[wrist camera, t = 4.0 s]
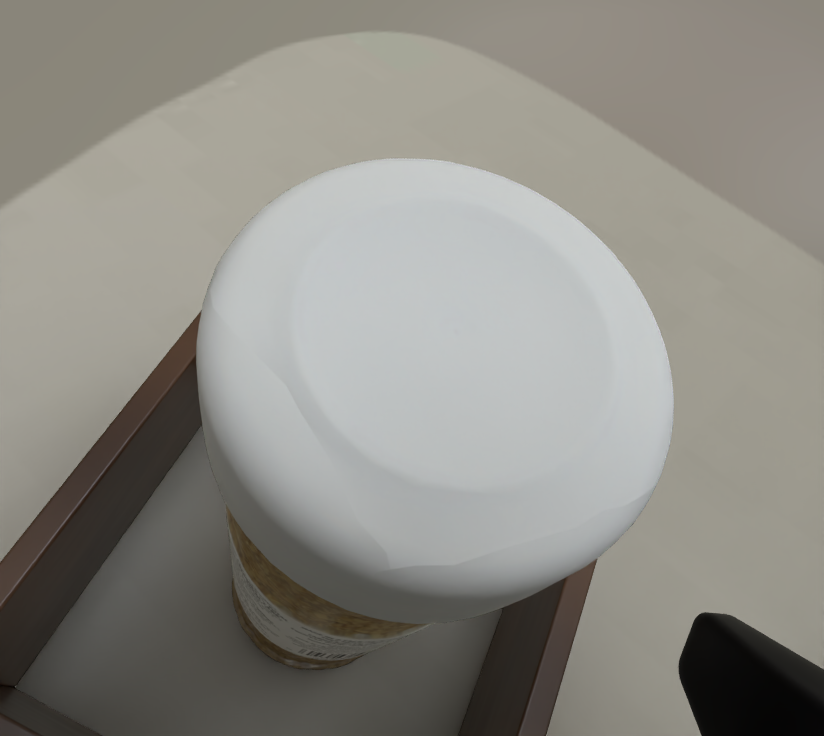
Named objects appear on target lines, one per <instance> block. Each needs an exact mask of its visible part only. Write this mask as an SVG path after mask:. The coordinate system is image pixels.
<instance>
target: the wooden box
mask: <svg viewBox="0 0 824 736" xmlns="http://www.w3.org/2000/svg"><path fill="white" fill-rule="evenodd" d="M201 311H202V310H201ZM200 317H201V312H200V313H199V314H198V315H197V317H196V318H195V319H194V320H193V322H192V323H191V324H190V325H189V327H188V328H187V329H186V330H185V332H184V333H183V334H182V335H181V337H180V338H179V339H178V340H177V342H176V343H175V344H174V345H173V347H172V348H171V349H170V350H169V352H168V353H167V354H166V356H165V357H164V358H163V359H162V361H161V362H160V363H159V364H158V366H157V367H156V368H155V369H154V371H153V372H152V373H151V374H150V376H149V377H148V378H147V379H146V381H145V382H144V383H143V384H142V386H141V387H140V388H139V389H138V391H137V392H136V393H135V394H134V396H133V397H132V398H131V399H130V401H129V402H128V403H127V404H126V406H125V407H124V408H123V409H122V411H121V412H120V413H119V414H118V416H117V417H116V418H115V419H114V421H113V422H112V423H111V424H110V426H109V427H108V428H107V429H106V431H105V432H104V433H103V434H102V436H101V437H100V438H99V439H98V441H97V442H96V443H95V444H94V446H93V447H92V448H91V449H90V451H89V452H88V453H87V454H86V456H85V457H84V458H83V459H82V461H81V462H80V463H79V464H78V466H77V467H76V468H75V469H74V471H73V472H72V473H71V474H70V476H69V477H68V478H67V479H66V481H65V482H64V483H63V484H62V486H61V487H60V488H59V489H58V491H57V492H56V493H55V494H54V496H53V497H52V498H51V499H50V501H49V502H48V503H47V504H46V506H45V507H44V508H43V509H42V511H41V512H40V513H39V514H38V516H37V517H36V518H35V519H34V521H33V522H32V523H31V525H30V526H29V527H28V528H27V530H26V531H25V532H24V533H23V535H22V536H21V537H20V538H19V540H18V541H17V542H16V543H15V545H14V546H13V547H12V548H11V550H10V551H9V552H8V553H7V555H6V556H5V557H4V558H3V560H2V561H1V562H0V736H102V735H100V734H98V733H96V732H94V731H93V730H91V729H89V728H87V727H85V726H83V725H81V724H80V723H78V722H76V721H74V720H72V719H70V718H68V717H67V716H65V715H63V714H61V713H59V712H57V711H56V710H54V709H52V708H50V707H48V706H46V705H44V704H43V703H41V702H39V701H37V700H35V699H33V698H31V697H30V696H28V695H26V694H24V693H22V692H20V691H18V690H17V689H15V688H13V687H14V686H15V685H16V684H17V683H18V681H19V680H20V679H21V677H22V676H23V674H24V673H25V672H26V670H27V669H28V667H29V666H30V665H31V663H32V662H33V660H34V659H35V658H36V656H37V655H38V653H39V652H40V651H41V649H42V648H43V646H44V645H45V644H46V642H47V641H48V639H49V638H50V636H51V635H52V634H53V632H54V631H55V629H56V628H57V627H58V625H59V624H60V622H61V621H62V620H63V618H64V617H65V615H66V614H67V613H68V611H69V610H70V608H71V607H72V606H73V604H74V603H75V601H76V600H77V599H78V597H79V596H80V594H81V593H82V591H83V590H84V589H85V587H86V586H87V584H88V583H89V582H90V580H91V579H92V577H93V576H94V575H95V573H96V572H97V570H98V569H99V568H100V566H101V565H102V563H103V562H104V561H105V559H106V558H107V556H108V555H109V554H110V552H111V551H112V549H113V548H114V546H115V545H116V544H117V542H118V541H119V539H120V538H121V537H122V535H123V534H124V532H125V531H126V530H127V528H128V527H129V525H130V524H131V523H132V521H133V520H134V518H135V517H136V516H137V514H138V513H139V511H140V510H141V508H142V507H143V506H144V504H145V503H146V501H147V500H148V499H149V497H150V496H151V494H152V493H153V492H154V490H155V489H156V487H157V486H158V485H159V483H160V482H161V480H162V479H163V478H164V476H165V475H166V473H167V472H168V471H169V469H170V468H171V466H172V465H173V463H174V462H175V461H176V459H177V458H178V456H179V455H180V454H181V452H182V451H183V449H184V448H185V447H186V445H187V444H188V442H189V441H190V440H191V438H192V437H193V435H194V434H195V433H196V431H197V430H198V428H199V427H200V426H201V424H202V418H201V411H200V403H199V393H198V380H197V368H196V345H197V335H198V328H199V322H200ZM596 561H597V559H596V560H594V561H593V562H591V563H590V564H589V565H587V566H586V567H584V568H582V569H580V570H579V571H577V572H575V573H573V574H571V575H569V576H567V577H566V578H564V579H562V580H560V581H558V582H556V583H554V584H552V585H550V586H549V587H547V588H545V589H543V590H541V591H539V592H537V593H535V594H533V595H531V596H529V597H527V598H525V599H522V600H520V601H517V602H515V603H513V604H510V605H508V606H505V607H504V609H503V612H502V615H501V618H500V620H499V623H498V626H497V629H496V632H495V635H494V637H493V640H492V643H491V646H490V649H489V651H488V654H487V657H486V660H485V663H484V665H483V668H482V671H481V674H480V677H479V680H478V682H477V685H476V688H475V691H474V694H473V696H472V699H471V702H470V705H469V708H468V710H467V713H466V716H465V719H464V722H463V724H462V727H461V730H460V733H459V736H546V733H547V730H548V727H549V723H550V720H551V716H552V713H553V709H554V706H555V702H556V699H557V696H558V692H559V689H560V685H561V682H562V678H563V675H564V671H565V668H566V665H567V661H568V658H569V654H570V651H571V647H572V644H573V641H574V637H575V634H576V630H577V627H578V623H579V620H580V616H581V613H582V610H583V606H584V603H585V599H586V596H587V592H588V589H589V585H590V582H591V579H592V575H593V572H594V568H595V565H596Z"/></svg>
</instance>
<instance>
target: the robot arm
mask: <svg viewBox="0 0 824 736" xmlns="http://www.w3.org/2000/svg"><path fill="white" fill-rule="evenodd" d="M679 676H680V680H681V683H682V686H683V688H684V691H685V693H686V696H687V699H688V701H689V704H690V707H691V709H692V712H693V714H694V717H695V720H696V722H697V725H698V727H699V730H700V733H701V735H702V736H824V670H823V669H822V668H820V667H818V666H817V665H815V664H813V663H812V662H810V661H808V660H806V659H805V658H803V657H801V656H800V655H798V654H796V653H795V652H793V651H791V650H789V649H788V648H786V647H784V646H783V645H781V644H779V643H778V642H776V641H774V640H772V639H771V638H769V637H767V636H766V635H764V634H762V633H761V632H759V631H757V630H755V629H754V628H752V627H750V626H749V625H747V624H745V623H744V622H742V621H740V620H738V619H737V618H735V617H733V616H731V615H727V614H718V613H707V612H705V613H701V614H699V615H698V616H697V617H696V618H695V620H694V622H693V625H692V627H691V630H690V633H689V635H688V638H687V641H686V643H685V646H684V649H683V651H682V654H681V657H680V660H679Z"/></svg>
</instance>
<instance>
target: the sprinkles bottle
mask: <svg viewBox="0 0 824 736" xmlns="http://www.w3.org/2000/svg"><path fill="white" fill-rule="evenodd" d="M196 368H197V380H198V393H199V403H200V411H201V418H202V426H203V434H204V440H205V445H206V450H207V453H208V457H209V461H210V465H211V469H212V471H213V474H214V476H215V479H216V482H217V484H218V487H219V489H220V492H221V494H222V497H223V499H224V501H225V503H226V517H227V525H228V534H229V542H230V550H231V563H232V573H233V581H232V595H233V602H234V607H235V610H236V612H237V615H238V619H239V621H240V623H241V626H242V628H243V629H244V631H245V632H246V633H247V634H248V635H249V636H250V638H251V639H252V641H253V642H254V643H255V644H256V646H257V647H258V648H259V649H260V650H262V651H263V652H264V653H265V654H267V655H268V656H269V657H271V658H272V659H274V660H276V661H278V662H280V663H283V664H285V665H288V666H291V667H294V668H297V669H314V670H322V669H326V668H336V667H340V666H342V665H346V664H348V663H350V662H352V661H353V660H355V659H357V658H359V657H361V656H363V655H364V654H367V653H369V652H371V651H373V650H376V649H378V648H381V647H383V646H386V645H388V644H390V643H392V642H395V641H397V640H399V639H402V638H404V637H406V636H408V635H410V634H412V633H415V632H417V631H419V630H421V629H424V628H426V627H428V626H430V625H432V624H434V623H447V622H452V621H458V620H463V619H469V618H474V617H477V616H480V615H483V614H486V613H489V612H492V611H495V610H498V609H500V608H503V607H505V606H508V605H510V604H513V603H515V602H517V601H520V600H522V599H525V598H527V597H529V596H531V595H533V594H535V593H537V592H539V591H541V590H543V589H545V588H547V587H549V586H550V585H552V584H554V583H556V582H558V581H560V580H562V579H564V578H566V577H567V576H569V575H571V574H573V573H575V572H577V571H579V570H580V569H582V568H584V567H586V566H587V565H589V564H590V563H591V562H593V561H594V560H596V559H597V558H598V557H600V556H601V555H602V554H603V553H604V552H605V551H607V550H608V549H609V548H610V547H611V546H612V545H613V544H614V543H615V542H617V540H618V539H619V538H620V537H621V536H622V535H623V534H624V533H625V532H626V531H627V530H628V529H629V528H630V527H631V526H632V525H633V523H634V522H635V520H636V519H637V518H638V516H639V515H640V513H641V512H642V510H643V509H644V507H645V505H646V504H647V502H648V501H649V499H650V497H651V495H652V493H653V491H654V489H655V487H656V484H657V482H658V480H659V478H660V476H661V473H662V470H663V467H664V463H665V460H666V457H667V453H668V450H669V447H670V441H671V435H672V429H673V414H674V396H673V385H672V375H671V369H670V365H669V360H668V356H667V352H666V348H665V345H664V342H663V339H662V335H661V332H660V330H659V328H658V325H657V323H656V321H655V318H654V316H653V314H652V311H651V310H650V308H649V306H648V304H647V302H646V300H645V298H644V296H643V294H642V292H641V290H640V289H639V287H638V286H637V284H636V282H635V281H634V279H633V278H632V276H631V275H630V274H629V272H628V271H627V270H626V268H625V267H624V266H623V265H622V263H621V262H620V261H619V260H618V258H617V257H616V256H615V255H614V254H613V252H612V251H611V250H610V249H609V248H608V247H607V246H606V245H605V244H604V243H603V242H602V241H601V240H600V239H599V238H598V237H597V236H596V235H595V234H594V233H593V232H592V231H591V230H589V229H588V228H587V227H586V226H585V225H584V224H582V223H581V222H580V221H579V220H578V219H576V218H575V217H574V216H572V215H571V214H570V213H568V212H567V211H565V210H564V209H562V208H561V207H560V206H558V205H557V204H555V203H554V202H552V201H550V200H548V199H547V198H545V197H543V196H542V195H540V194H538V193H537V192H535V191H533V190H532V189H529V188H527V187H525V186H523V185H520V184H518V183H516V182H514V181H511V180H509V179H507V178H505V177H502V176H500V175H497V174H494V173H491V172H488V171H485V170H482V169H478V168H474V167H470V166H465V165H461V164H457V163H452V162H448V161H440V160H431V159H405V158H391V159H379V160H370V161H364V162H358V163H354V164H351V165H347V166H343V167H339V168H336V169H332V170H329V171H326V172H323V173H321V174H318V175H316V176H314V177H312V178H310V179H308V180H306V181H304V182H302V183H300V184H298V185H296V186H294V187H292V188H290V189H288V190H287V191H286V192H284V193H283V194H281V195H280V196H278V197H277V198H275V199H274V200H273V201H271V202H270V203H269V204H267V205H266V206H265V207H264V208H263V209H262V210H260V211H259V212H258V213H257V214H256V215H255V216H254V217H252V218H251V220H250V221H249V222H248V223H247V224H246V225H245V227H244V228H243V229H242V230H241V231H240V232H239V234H238V235H237V236H236V237H235V239H234V240H233V241H232V243H231V244H230V246H229V247H228V248H227V250H226V251H225V253H224V254H223V256H222V258H221V259H220V261H219V262H218V264H217V266H216V268H215V271H214V274H213V277H212V279H211V282H210V284H209V286H208V289H207V293H206V296H205V299H204V302H203V306H202V311H201V317H200V322H199V328H198V335H197V345H196Z"/></svg>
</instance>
